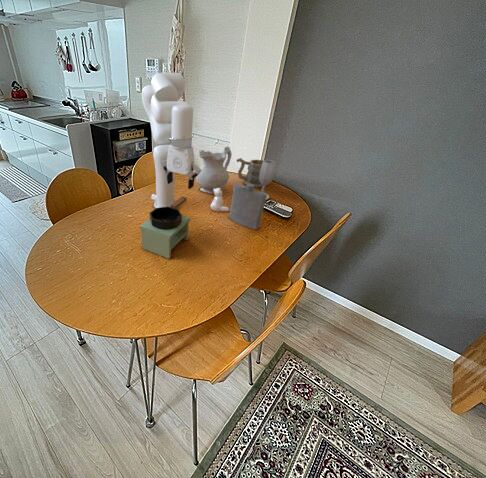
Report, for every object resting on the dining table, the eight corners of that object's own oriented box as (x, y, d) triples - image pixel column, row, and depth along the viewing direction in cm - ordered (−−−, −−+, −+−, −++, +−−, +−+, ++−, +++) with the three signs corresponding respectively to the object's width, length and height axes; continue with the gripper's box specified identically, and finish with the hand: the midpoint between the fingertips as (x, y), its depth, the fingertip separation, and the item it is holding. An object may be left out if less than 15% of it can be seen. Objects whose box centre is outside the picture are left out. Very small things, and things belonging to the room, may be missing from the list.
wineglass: (271, 196, 150) (279, 160, 138) (266, 202, 144) (275, 165, 132) (256, 193, 154) (263, 158, 142) (251, 198, 148) (258, 162, 136)
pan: (144, 224, 102) (144, 213, 99) (172, 203, 117) (172, 193, 114) (170, 232, 97) (170, 222, 94) (196, 209, 112) (196, 200, 109)
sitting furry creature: (229, 211, 134) (232, 190, 127) (215, 214, 131) (217, 193, 125) (220, 204, 141) (223, 183, 134) (206, 206, 139) (208, 185, 132)
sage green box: (141, 248, 107) (139, 225, 101) (162, 230, 118) (161, 209, 112) (170, 259, 101) (170, 236, 95) (189, 239, 113) (190, 217, 106)
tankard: (265, 181, 169) (271, 159, 160) (262, 188, 159) (268, 165, 151) (235, 176, 175) (239, 154, 167) (231, 183, 166) (234, 160, 157)
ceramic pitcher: (212, 182, 169) (213, 142, 156) (236, 189, 157) (240, 147, 144) (189, 191, 157) (188, 149, 144) (213, 199, 145) (215, 154, 132)
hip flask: (259, 227, 122) (269, 188, 110) (255, 231, 119) (264, 191, 108) (231, 216, 131) (237, 178, 119) (227, 218, 128) (232, 180, 117)
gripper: (156, 141, 96) (157, 183, 106) (197, 148, 90) (194, 193, 99) (167, 136, 102) (167, 177, 112) (206, 143, 95) (203, 186, 105)
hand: (180, 185), depth 106 cm, fingers open, 9 cm apart
